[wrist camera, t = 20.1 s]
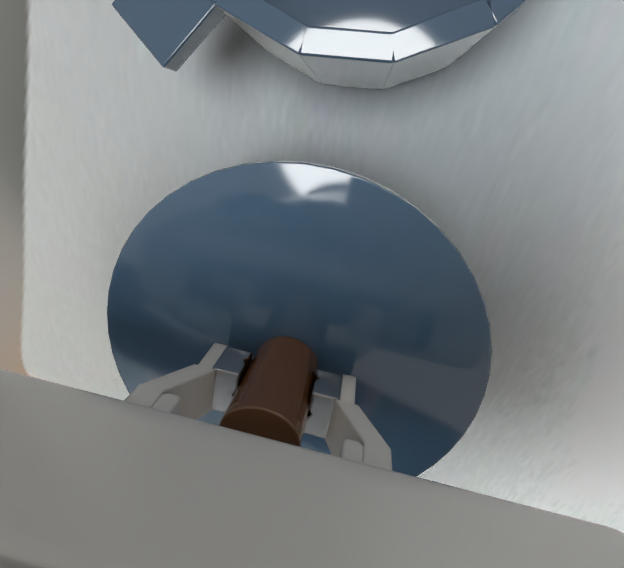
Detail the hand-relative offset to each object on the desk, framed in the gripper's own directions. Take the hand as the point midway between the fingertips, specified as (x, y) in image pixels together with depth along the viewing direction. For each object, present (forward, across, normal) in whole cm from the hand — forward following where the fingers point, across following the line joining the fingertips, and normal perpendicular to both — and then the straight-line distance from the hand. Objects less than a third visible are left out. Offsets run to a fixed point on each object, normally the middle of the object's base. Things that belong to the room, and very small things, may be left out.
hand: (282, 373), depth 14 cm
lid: (+1, 0, 0) cm, 1 cm away
